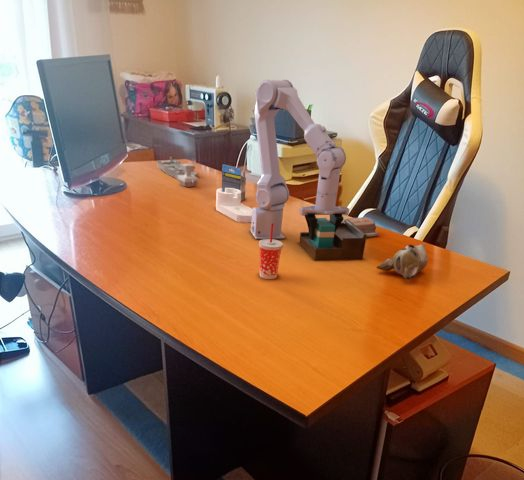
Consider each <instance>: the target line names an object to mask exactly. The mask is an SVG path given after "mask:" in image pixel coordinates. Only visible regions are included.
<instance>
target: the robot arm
mask: <svg viewBox="0 0 524 480" xmlns="http://www.w3.org/2000/svg"><path fill="white" fill-rule="evenodd" d="M254 93H255V100H256V102H255V107H254V122H255V131H256V139H257V146H258V148H257V149H258V156H259V163H260V172H261V177H260V178H259V180H258V181H257V183H256V194H255V200H256V203H257V205H258V207H257V206H256V207H253V208H252V209H253V210H252V220H251V222H250V233H251V234H252V236H253V237H254V239H255V240H264V239H270V236H271V224H272V223H273V234H272V239H274V240H284V239H285V238H286V237H285V236H284V234H283V233H282V229H283V227H282V226H283V215H284V208H285V204H286V203H287V202H288V201H289V198H290V190H289V188H288V185H287V182H286V179H285V177H284V176H282V174H281V170H280V162H279V152H278V144H277V143H278V141H277V134H276V126H275V125H276V124H275V117H276V116H277V114H278V113H279V111H280V110H286V111H287V112H288V113H289V115H290V116H291V117H292V118H293V119H294V121H295V122H296V123H297V125H299V128H301V129H302V131H303V132H304V133H303V139H304V140H305V142H306V144H307V145H308V147H309V148H310V149H311V151H312V153H313V154H314V155H315V156H316V165H317V167H318V180H317V188H316V195H315V196H316V197H315V205H309V206H299V215H300V216H301V217H303V216H304V218H305V221H306V224H307V229H308V232H309V238H310V239H311V240H314V234H315V227H316V223H317V219H316V218H317V216H329V220H330V222H331V223H332V224H333V225H334V226H335V232H336V230H337V228H338V227H339V225H340V224H341V222H342V221H343V219H345V217H344V216H349V214H350V208H349V207H347V206H338V205H337V206H336V203H337V198H338V189H339V182H340V176H341V169H342V167H344V166H345V164H346V161H347V157H346V156H347V155H346V152H345V151H344V148H343V147H341V146H338V145H336V142H335V141H333V140H332V139H331V137H330V136H329V134H328V132H327V128H326V127H325V126H323V125H321V123H315V122H314V119H312V117H311V115H310V113H309V111H308V110H307V108H306V106H305V105H304V103H303V102H302V100H301V98H300V97H299V95H298V90H297V89H296V87H294V85H293V83H292V82H291V81H290V80H288V79H280V80H279V79H277V80H276V79H264V80H262V81H261V82H260V83H259V85H258V86H257V88H256V89H255V92H254ZM334 234H335V233H334Z"/></svg>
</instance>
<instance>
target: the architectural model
mask: <svg viewBox="0 0 524 480" xmlns="http://www.w3.org/2000/svg"><path fill="white" fill-rule="evenodd" d="M180 164H185V163H183V162H182V161H179V160H177V158H175V159H174V158H173V157H172V156H170V157H169V159H168V160H160V159H159V160H156V166H157V169H159V170H161V171H162V172H164V173H166V174H167V175H168V176H171V177H173V178H175V179H177V176H178V175H185V171H184V170H182V168H181V165H180ZM198 174H199V172H196V171H191V175H193V176H197V175H198Z"/></svg>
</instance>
